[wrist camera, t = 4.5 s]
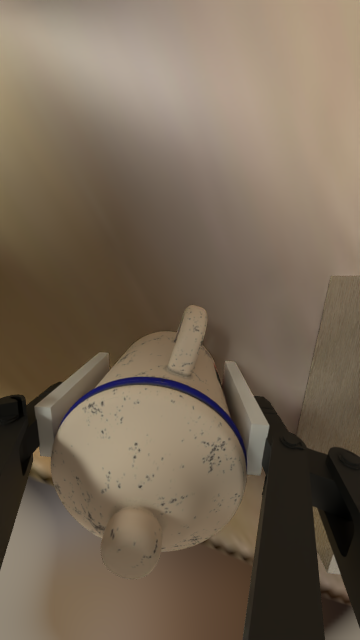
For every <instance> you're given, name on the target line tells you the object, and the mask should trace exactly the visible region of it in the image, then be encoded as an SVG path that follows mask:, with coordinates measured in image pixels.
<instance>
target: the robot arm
mask: <svg viewBox="0 0 360 640" xmlns="http://www.w3.org/2000/svg"><path fill="white" fill-rule="evenodd" d="M108 372H109V353H105V352H99V353H98V354H96V355H95V356H94V357H93V358H92V359H90V360H89V361H88V362H87V363H86V364H84V365H83V366H82V367H81V368H80V369H79V370H77V371H76V372H75V373H74V374H73V375H71V376H70V377H69V378H68V379H67V380H65V381H64V382H58V383H56V384H54V385H52V386H50V387H49V388H48V389H47V390H45V391H44V392H43V393H42V394H40V395H39V397H36V398H35V399H34V400H33V401H31V402H30V403H29V404H28V405H26V400H25V397H24V396H23V395H10V396H6V397H3V398H0V569H1V566H2V562H3V559H4V556H5V553H6V549H7V546H8V542H9V539H10V536H11V533H12V529H13V526H14V523H15V519H16V516H17V513H18V509H19V506H20V503H21V499H22V496H23V493H24V490H25V486H26V483H27V479H28V476H29V473H30V470H31V466H32V463H33V452H34V451H35V450H36V449H37V448H38V447H39V449H40V456H48V457H51V454H52V447H53V443H54V439H55V436H56V434H57V431H58V428H59V426H60V424H61V421H62V420H63V418H64V416H65V415H66V413H67V412H68V411H69V409H70V408H71V407H72V406H73V405H74V404H75V403H76V401H78V400H79V399H80V398H81V397H82V396H83V395H85V394H86V393H88V392H89V391H91V390H92V389H94V388H95V387H96V386H97V385H98V384H99V382H100V381H101V380H102V379H103V378H104V377H105V375H106V374H107V373H108ZM222 389H223V392H224V396H225V399H226V403H227V406H228V410H229V413H230V417H231V419H232V421H233V422H234V424H235V425H236V427H237V429H238V431H239V433H240V435H241V437H242V440H243V443H244V446H245V450H246V456H247V474H249V475H261V469H262V466H263V469H264V471H265V474H266V476H265V482H264V487H263V492H262V495H263V496H262V504H261V511H260V518H259V525H258V533H257V540H256V547H255V554H254V562H253V569H252V576H251V584H250V591H249V598H248V606H247V613H246V619H245V627H244V634H243V640H325V636H324V625H323V614H322V603H321V593H320V582H319V571H318V560H317V549H316V538H315V527H314V516H313V507H316V508H317V509H318V512H319V514H320V517H321V520H322V523H323V526H324V529H325V531H326V534H327V537H328V540H329V543H330V545H331V548H332V551H333V554H334V557H335V560H336V562H337V565H338V568H339V571H340V574H341V576H342V579H343V582H344V585H345V588H346V591H347V593H348V596H349V599H350V602H351V605H352V607H353V610H354V613H355V616H356V619H357V621H358V624H359V627H360V457H359V456H358V455H356V454H354V453H353V452H351V451H349V450H346V449H344V448H341V447H332V448H330V449H329V451H328V455H327V454H324V453H321V452H318V451H315V450H312V449H309V448H307V447H306V444H305V443H304V442H303V441H302V440H301V439H300V438H299V437H297V436H296V435H294V434H292V433H290V432H289V431H288V430H287V428H286V427H285V425H284V424H283V422H282V420H281V419H280V417H279V416H278V415H277V413H276V411H275V410H274V408H273V406H272V405H271V403H270V402H269V401H268V400H266V399H265V398H264V397H260V396H253V394H252V392H251V390H250V388H249V387H248V385H247V383H246V381H245V379H244V377H243V375H242V374H241V372H240V370H239V368H238V366H237V364H236V362H234V361H225V366H224V375H223V384H222Z"/></svg>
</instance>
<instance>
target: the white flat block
mask: <svg viewBox="0 0 360 640" xmlns="http://www.w3.org/2000/svg"><path fill="white" fill-rule="evenodd" d="M296 436H297V437H299V438H300V439H301V440H302V441H303V442H304V443H305V444H306V447H307V448H309V449H312V450H315V451H318V452H321V453H324V454H327V455H328V451H329V449H330V448H332V447H341V448H344V449H346V450H349V451H351V452H353V453H354V454H356V455H358V456H359V457H360V276H331V278H330V283H329V287H328V292H327V297H326V301H325V306H324V310H323V315H322V319H321V324H320V329H319V333H318V338H317V342H316V347H315V351H314V356H313V361H312V365H311V370H310V374H309V379H308V383H307V388H306V393H305V397H304V402H303V406H302V411H301V416H300V420H299V425H298V429H297V434H296ZM313 516H314V527H315V538H316V549H317V552H318V554H319V556H320V558H321V560H322V563H323V565H324V567H325V569H326V571H327V573H332V574H340V571H339V568H338V565H337V562H336V560H335V557H334V554H333V551H332V548H331V545H330V543H329V540H328V537H327V534H326V531H325V529H324V526H323V523H322V520H321V517H320V514H319V512H318V509H317V508H316V507H313Z"/></svg>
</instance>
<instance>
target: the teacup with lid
mask: <svg viewBox="0 0 360 640" xmlns="http://www.w3.org/2000/svg"><path fill="white" fill-rule="evenodd" d="M207 321H208V316H207V312H206V310H205V309H203V308H201V307H198V306H195V305H190V306H188V307H187V308H186V309H185V311H184V314H183V316H182V319H181V322H180V325H179V328H178V330H177V332H171V331H162V332H156V333H152V334H149V335H146V336H144V337H142V338H140V339H139V340H137V341H136V342H135V343H133V344H132V345H131V346H130V347H129V349H128V350H127V351H126V352H125V353H124V354H123V356H122V357H121V358H120V359H119V360H118V361H117V363H116V364H115V365H114V366H113V367H112V368H111V370H110V371H109V372H108V373H107V374H106V375H105V377H104V378H103V379H102V380H101V381H100V382H99V384H98V385H97V386H96V387H95V388H94V389H92V390H91V391H89V392H88V393H86V394H85V395H83V396H82V397H81V398H80V399H79V400H78V401H76V403H75V404H74V405H73V406H72V407H71V408H70V409H69V411H68V412H67V413H66V415H65V416H64V418H63V420H62V421H61V424H60V426H59V428H58V431H57V434H56V436H55V439H54V443H53V447H52V454H51V473H52V478H53V483H54V486H55V489H56V491H57V494H58V496H59V498H60V500H61V501H62V503H63V504H64V506H65V507H66V509H67V510H68V512H69V513H70V514H71V515H72V516H73V517H74V518H75V519H76V520H77V521H78V522H79V523H80V524H81V525H82V526H83V527H85V528H86V529H88V530H89V531H90V532H91V533H93V534H95V535H96V536H98V537H100V538H102V542H101V556H102V560H103V563H104V565H105V566H106V568H107V569H108V570H109V571H111V572H112V573H113V574H115V575H117V576H119V577H122V578H126V579H138V578H142V577H145V576H147V575H148V574H149V573H150V572H151V571H152V570H153V569H154V568H155V566H156V565H157V563H158V561H159V558H160V555H161V552H167V551H175V550H180V549H184V548H188V547H191V546H194V545H196V544H199V543H201V542H203V541H205V540H207V539H209V538H210V537H212V536H213V535H215V534H216V533H218V532H219V531H220V530H221V529H222V528H223V527H224V526H225V525H226V524H227V523H228V522H229V521H230V520H231V518H232V517H233V516H234V514H235V512H236V511H237V509H238V507H239V505H240V503H241V500H242V497H243V494H244V490H245V486H246V477H247V456H246V450H245V446H244V443H243V440H242V437H241V435H240V433H239V431H238V429H237V427H236V425H235V424H234V422H233V421H232V419H231V417H230V413H229V410H228V406H227V403H226V399H225V396H224V392H223V389H222V386H221V382H220V379H219V375H218V372H217V368H216V365H215V362H214V360H213V358H212V356H211V355H210V353H209V352H208V351H207V349H206V348H205V347H204V346H203V345H202V343H203V340H204V336H205V332H206V327H207Z"/></svg>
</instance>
